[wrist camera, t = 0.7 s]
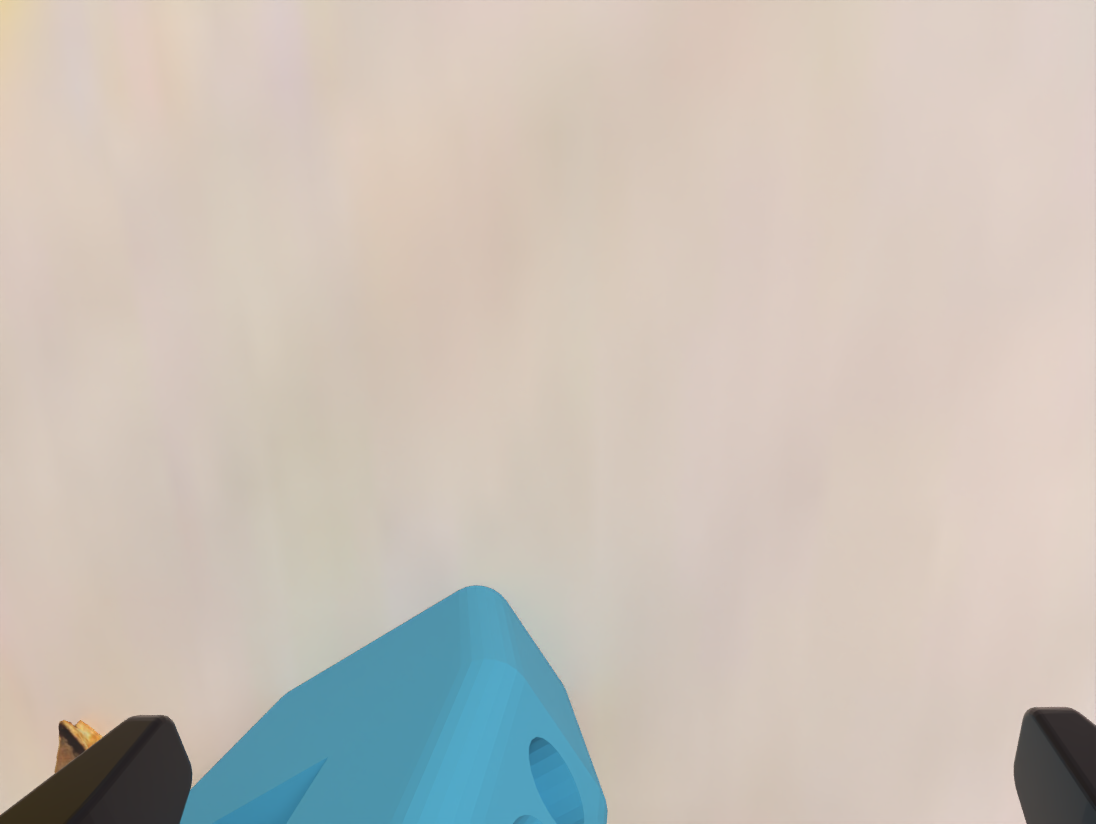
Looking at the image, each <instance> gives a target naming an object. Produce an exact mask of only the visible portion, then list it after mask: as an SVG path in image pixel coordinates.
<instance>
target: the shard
mask: <svg viewBox="0 0 1096 824" xmlns="http://www.w3.org/2000/svg"><path fill="white" fill-rule="evenodd" d="M101 738H102V736H101V735H100V734H98V733H97V732H96V731H94V729H92V728H91V727H90V726H88V725H87V724H85V723H84V722H82V721H81V720H80V721H79V722H78V723H77V724H76V725H75V726H73V725H72V724H71V723H70V722H68V721H65V720H63V721H60V723H59V748H58V753H57V762H56V767H55V773H56V772H58V771H59V770H60V769H62V768H63V767H64V766H66V765H67V764H68V763H70V762H71V761H72V760H74V759H75V758H76V757H77V756H79V755H80V754H81V753H83V752H84V751H85V750H87V749H88V748H89V747H91V746H92V745H93V744H95V743H96V742H97V741H98V740H100V739H101Z"/></svg>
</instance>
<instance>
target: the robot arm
mask: <svg viewBox="0 0 1096 824" xmlns="http://www.w3.org/2000/svg"><path fill="white" fill-rule="evenodd" d="M1014 781H1015V786H1016V790H1017V794H1018V797H1019V800H1020V803H1021V807H1022V810H1023V813H1024V817H1025V820H1026V823H1027V824H1096V725H1095V724H1093V723H1092V722H1091V721H1090V720H1088V719H1087V718H1086V717H1085V716H1083V715H1082V714H1081V713H1079V712H1078V711H1076V710H1074V709H1072V708H1068V707H1034V708H1030V709H1029V710H1027V711H1026V713H1025V715H1024V717H1023V721H1022V726H1021V731H1020V736H1019V741H1018V746H1017V751H1016V756H1015V761H1014ZM191 783H192V768H191V764H190V761H189V758H188V756H187V754H186V751H185V749H184V746H183V744H182V741H181V739H180V736H179V734H178V732H177V729H176V727H175V724H174V722H173V721H172V720H171V719H170V718H169V717H167V716H164V715H138V716H133V717H130V718H128V719H127V720H125V721H124V722H122V723H121V724H120V725H118V726H117V727H116V728H114V729H113V730H112V731H110V732H109V733H108V734H106V735H105V736H104V737H102V738H101V739H100V740H98V741H97V742H96V743H95V744H93V745H92V746H91V747H89V748H88V749H87V750H85V751H84V752H83V753H81V754H80V755H79V756H77V757H76V758H75V759H74V760H72V761H71V762H70V763H68V764H67V765H66V766H64V767H63V768H62V769H60V770H59V771H58V772H56V773H55V774H54V775H53V776H51V777H50V778H49V779H47V780H46V781H45V782H43V783H42V784H41V785H39V786H38V787H37V788H35V789H34V790H33V791H32V792H30V793H29V794H28V795H26V796H25V797H24V798H22V799H21V800H20V801H18V802H17V803H16V804H14V805H13V806H12V807H10V808H9V809H8V810H7V811H5V812H4V813H3V814H1V815H0V824H180V821H181V818H182V815H183V812H184V808H185V805H186V802H187V799H188V796H189V792H190V789H191Z"/></svg>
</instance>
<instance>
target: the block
mask: <svg viewBox="0 0 1096 824" xmlns="http://www.w3.org/2000/svg"><path fill="white" fill-rule="evenodd" d="M180 824H607V805H606V800H605V797H604V794H603V791H602V789H601V786H600V783H599V780H598V778H597V775H596V772H595V769H594V767H593V764H592V761H591V758H590V756H589V753H588V750H587V747H586V745H585V742H584V739H583V736H582V734H581V731H580V728H579V725H578V723H577V720H576V717H575V714H574V712H573V709H572V706H571V703H570V700H569V698H568V695H567V692H566V690H565V688H564V686H563V684H562V682H561V681H560V680H559V678H558V677H557V675H556V674H555V672H554V671H553V669H552V668H551V666H550V665H549V663H548V662H547V660H546V659H545V657H544V656H543V654H542V653H541V651H540V650H539V648H538V647H537V645H536V644H535V643H534V641H533V640H532V638H531V637H530V635H529V634H528V632H527V631H526V629H525V628H524V626H523V625H522V623H521V622H520V620H519V619H518V617H517V616H516V614H515V613H514V611H513V610H512V608H511V607H510V606H509V604H508V603H507V601H506V600H505V599H504V598H503V597H502V595H501V594H499V593H498V592H496V591H495V590H493V589H491V588H488V587H485V586H469V587H465V588H463V589H461V590H458V591H457V592H455V593H453V594H452V595H450V596H448V597H447V598H445V599H443V600H442V601H440V602H438V603H437V604H435V605H433V606H432V607H430V608H428V609H427V610H425V611H423V612H422V613H420V614H418V615H417V616H415V617H413V618H412V619H410V620H408V621H407V622H405V623H403V624H402V625H400V626H398V627H397V628H395V629H393V630H392V631H390V632H388V633H387V634H385V635H383V636H381V637H380V638H378V639H376V640H375V641H373V642H371V643H370V644H368V645H366V646H365V647H363V648H361V649H360V650H358V651H356V652H355V653H353V654H351V655H350V656H348V657H346V658H345V659H343V660H341V661H340V662H338V663H336V664H335V665H333V666H331V667H330V668H328V669H326V670H325V671H323V672H321V673H320V674H318V675H316V676H315V677H313V678H311V679H310V680H308V681H306V682H305V683H303V684H301V685H299V686H298V687H296V688H294V689H293V690H291V691H289V692H288V693H287V694H285V695H284V696H283V697H282V698H281V699H280V700H279V701H278V702H277V703H276V704H275V705H274V706H273V707H272V708H271V709H270V710H269V711H268V712H267V713H266V714H265V715H264V716H263V717H262V718H261V719H260V720H259V721H258V722H257V723H256V724H255V725H254V726H253V727H252V728H251V729H250V730H249V731H248V732H247V733H246V734H245V735H244V736H243V737H242V738H241V739H240V740H239V741H238V742H237V743H236V744H235V745H234V746H233V747H232V748H231V749H230V750H229V751H228V752H227V753H226V754H225V755H224V756H223V757H222V758H221V759H220V760H219V761H218V762H217V763H216V764H215V765H214V766H213V767H212V768H211V770H210V771H209V772H208V773H207V774H206V775H205V776H204V777H203V778H202V779H201V780H200V781H199V782H198V783H197V784H196V785H195V786H194V787H193V788H192V789H191V790H190V792H189V796H188V799H187V802H186V805H185V808H184V812H183V815H182V818H181V821H180Z"/></svg>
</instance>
